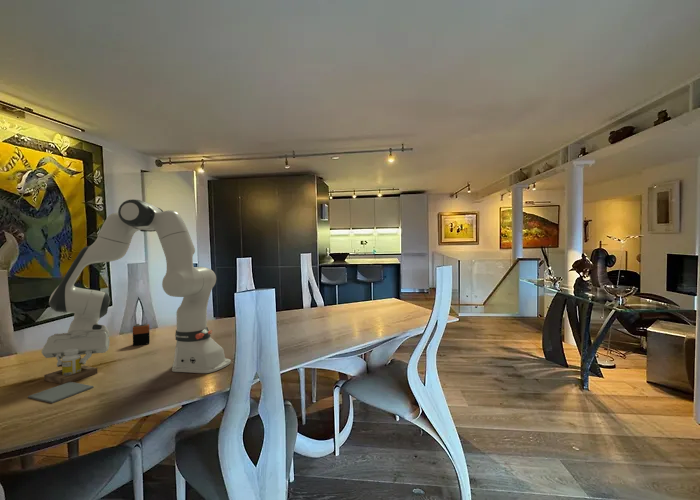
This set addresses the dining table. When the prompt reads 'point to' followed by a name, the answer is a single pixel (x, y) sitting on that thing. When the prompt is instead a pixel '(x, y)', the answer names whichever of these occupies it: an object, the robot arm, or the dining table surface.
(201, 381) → the dining table surface
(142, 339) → the battery
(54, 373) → the walnut holder
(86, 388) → the charcoal mat
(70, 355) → the supplement bottle
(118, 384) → the dining table surface
